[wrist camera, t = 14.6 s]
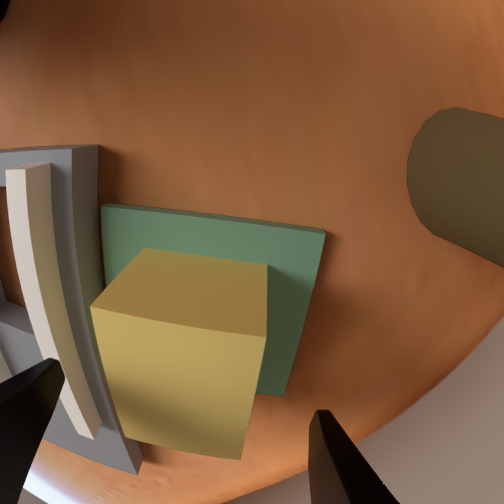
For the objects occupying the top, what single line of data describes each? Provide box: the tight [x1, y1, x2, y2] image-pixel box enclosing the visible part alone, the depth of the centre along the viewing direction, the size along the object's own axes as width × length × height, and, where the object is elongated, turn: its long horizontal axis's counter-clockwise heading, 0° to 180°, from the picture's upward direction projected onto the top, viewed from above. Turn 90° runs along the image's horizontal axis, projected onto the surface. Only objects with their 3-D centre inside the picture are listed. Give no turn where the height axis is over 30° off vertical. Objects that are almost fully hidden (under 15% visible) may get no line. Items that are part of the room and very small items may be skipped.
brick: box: [90, 248, 267, 460], centre depth 11 cm, size 7×5×4 cm
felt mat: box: [101, 203, 326, 396], centre depth 13 cm, size 9×9×1 cm
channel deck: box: [0, 145, 143, 475], centre depth 14 cm, size 24×11×4 cm, turn 173°
